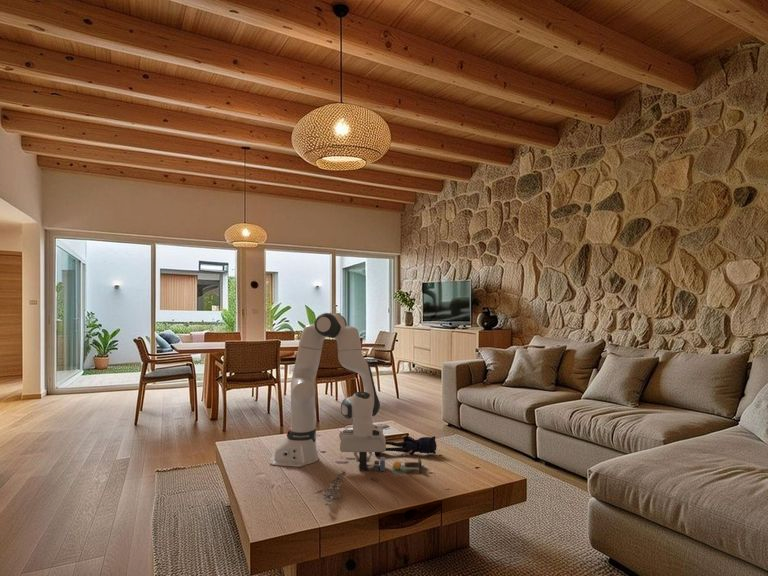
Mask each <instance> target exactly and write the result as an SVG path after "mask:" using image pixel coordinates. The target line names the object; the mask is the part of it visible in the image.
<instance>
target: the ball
mask: <svg viewBox="0 0 768 576" xmlns="http://www.w3.org/2000/svg"><path fill="white" fill-rule="evenodd" d="M401 465H402V464H401V462H400V461H397V460H395V461H394V462H393V463H392V468H393V467H394V469H396V470H398V469H400V468H401Z"/></svg>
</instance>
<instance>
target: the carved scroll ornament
mask: <svg viewBox="0 0 768 576" xmlns="http://www.w3.org/2000/svg"><path fill="white" fill-rule="evenodd" d="M345 475H346V471H345V470H344V471H342V473H339V474H337V475H336V478H334V479H331V480H330V485H329V487H328V488H327V489H326V490H324V495H325V497H324V501H325V503H324V505H325V506H330V504H331V502H332V500H334V499H335V500H337V499H339V498H340V497H341V494H340V492H339V490H340V486H341V485H342V483H343V480H344V476H345Z"/></svg>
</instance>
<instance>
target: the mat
mask: <svg viewBox="0 0 768 576" xmlns="http://www.w3.org/2000/svg"><path fill="white" fill-rule="evenodd" d="M421 466H422V473H405V469H419V467H418V466H414V467H405V464H401V468H400V469H398V470H396V469H394V467H393V466H392V473H391V474H392V475H426V470H425V465H424V464H421Z"/></svg>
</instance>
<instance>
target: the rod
mask: <svg viewBox="0 0 768 576" xmlns="http://www.w3.org/2000/svg"><path fill="white" fill-rule="evenodd" d="M358 453H359V455H358V457H359V462H358V463H359V464H358V470H359V471H363V472H364V471H365V472H366V471H368V470H374V465H379V471H380V472H382V471H383V472H385V471H386V457H385V456H380V458H379V464H373V463H372V464H368V462H366V461H367V460H366V458H367V457H368V456H367V455H368V452H358Z"/></svg>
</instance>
